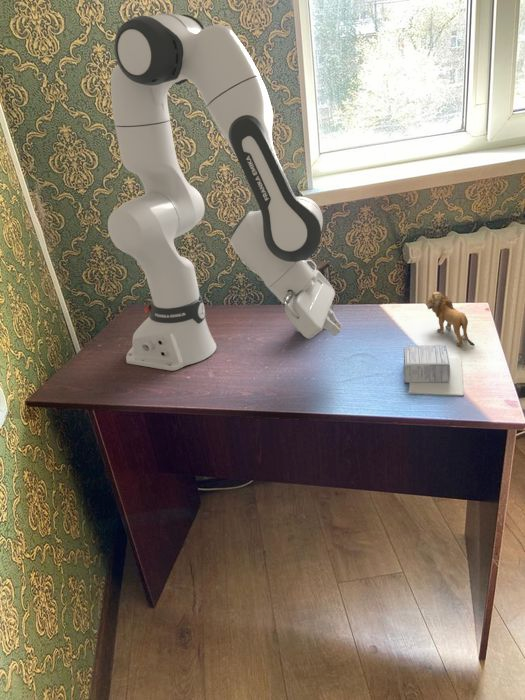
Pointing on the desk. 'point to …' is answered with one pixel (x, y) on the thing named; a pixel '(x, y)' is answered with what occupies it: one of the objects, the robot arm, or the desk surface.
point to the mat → (442, 383)
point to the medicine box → (426, 364)
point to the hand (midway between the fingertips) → (338, 331)
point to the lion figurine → (448, 316)
